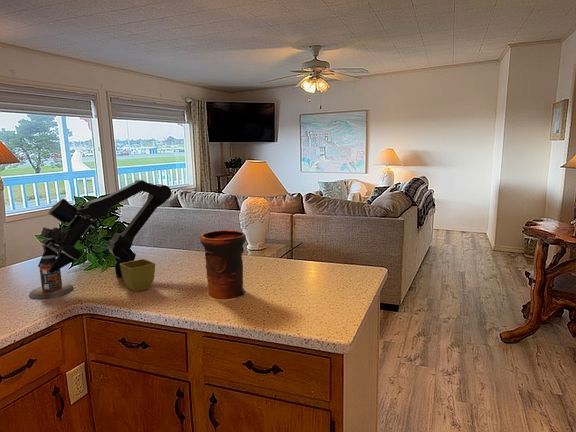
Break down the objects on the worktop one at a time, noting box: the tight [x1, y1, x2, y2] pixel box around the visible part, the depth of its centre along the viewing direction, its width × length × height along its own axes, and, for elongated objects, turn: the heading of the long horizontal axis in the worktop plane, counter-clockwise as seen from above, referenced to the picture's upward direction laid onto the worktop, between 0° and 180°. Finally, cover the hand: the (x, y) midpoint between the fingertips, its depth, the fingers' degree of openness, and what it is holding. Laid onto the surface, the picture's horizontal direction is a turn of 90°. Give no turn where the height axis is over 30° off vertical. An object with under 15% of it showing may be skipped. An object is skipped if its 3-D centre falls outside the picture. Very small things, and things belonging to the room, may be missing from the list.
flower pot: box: [120, 258, 156, 293], centre depth 138 cm, size 9×9×9 cm
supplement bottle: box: [38, 255, 63, 292], centre depth 136 cm, size 6×6×11 cm
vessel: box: [199, 229, 247, 302], centre depth 131 cm, size 14×14×20 cm
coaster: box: [28, 282, 74, 300], centre depth 137 cm, size 13×13×1 cm
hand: (44, 269), depth 135 cm, fingers open, 9 cm apart
